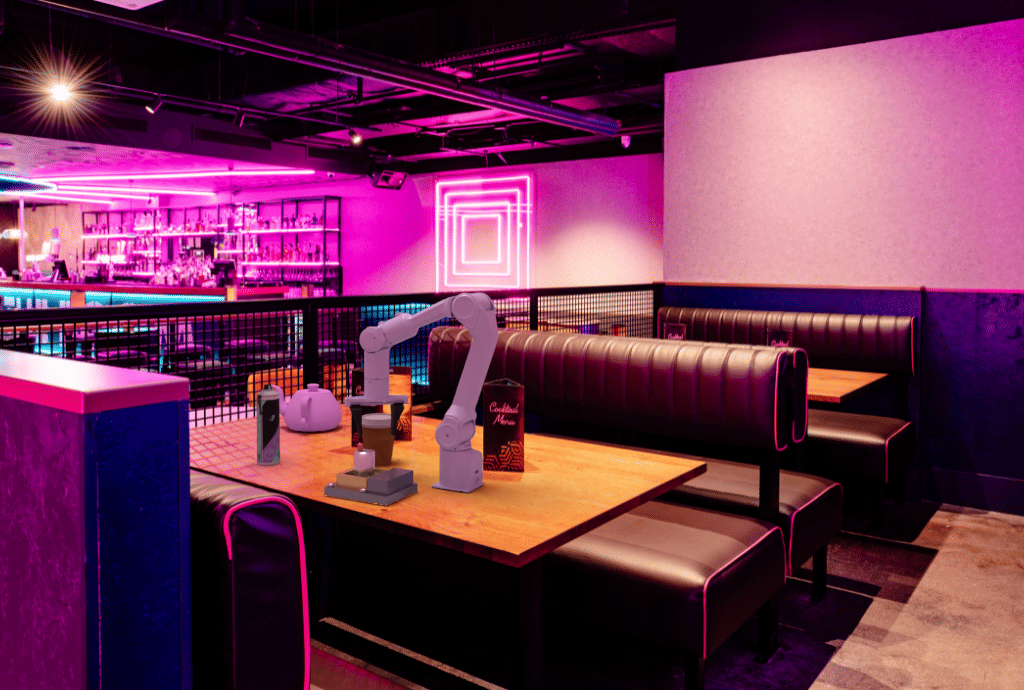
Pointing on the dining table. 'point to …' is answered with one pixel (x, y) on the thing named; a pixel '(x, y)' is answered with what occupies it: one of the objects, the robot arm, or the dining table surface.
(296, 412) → the teapot
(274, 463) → the spray can
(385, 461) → the disposable coffee cup
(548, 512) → the dining table surface
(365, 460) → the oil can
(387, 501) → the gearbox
